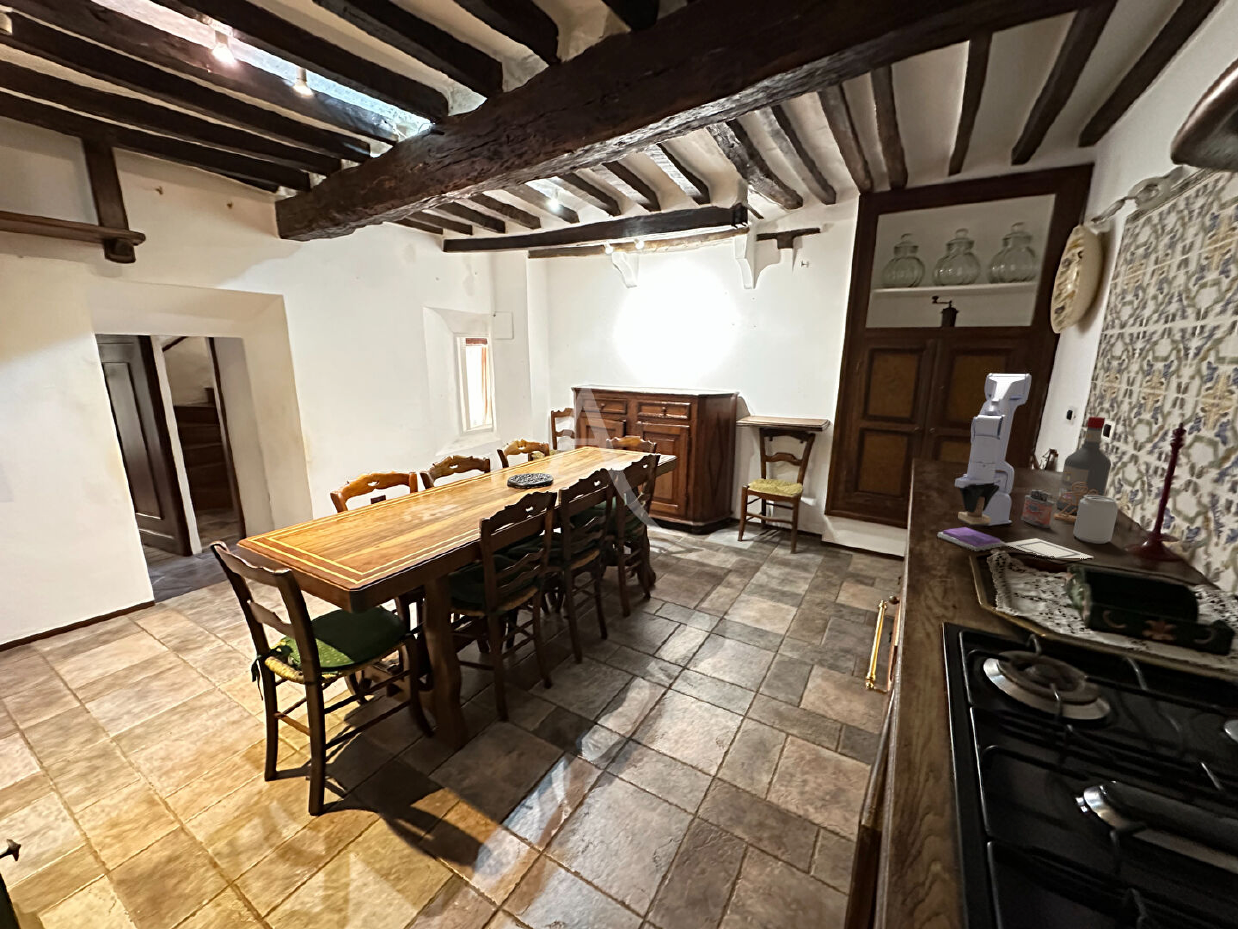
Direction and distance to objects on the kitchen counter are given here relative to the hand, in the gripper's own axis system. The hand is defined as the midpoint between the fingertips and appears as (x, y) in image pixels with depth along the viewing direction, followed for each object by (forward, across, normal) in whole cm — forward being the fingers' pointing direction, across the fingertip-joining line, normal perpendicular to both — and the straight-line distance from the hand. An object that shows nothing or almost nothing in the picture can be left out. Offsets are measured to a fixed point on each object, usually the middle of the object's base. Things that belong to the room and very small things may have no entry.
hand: (974, 510), depth 128 cm
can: (+9, -32, +9) cm, 34 cm away
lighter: (+9, -32, -5) cm, 34 cm away
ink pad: (+9, 0, 0) cm, 9 cm away
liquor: (+9, -57, -9) cm, 58 cm away
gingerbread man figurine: (+9, -45, -3) cm, 46 cm away
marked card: (+9, -12, +11) cm, 19 cm away
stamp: (+3, 0, 0) cm, 3 cm away
